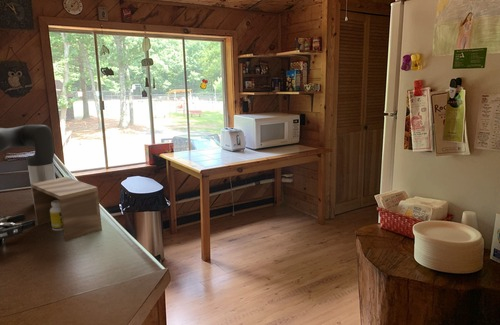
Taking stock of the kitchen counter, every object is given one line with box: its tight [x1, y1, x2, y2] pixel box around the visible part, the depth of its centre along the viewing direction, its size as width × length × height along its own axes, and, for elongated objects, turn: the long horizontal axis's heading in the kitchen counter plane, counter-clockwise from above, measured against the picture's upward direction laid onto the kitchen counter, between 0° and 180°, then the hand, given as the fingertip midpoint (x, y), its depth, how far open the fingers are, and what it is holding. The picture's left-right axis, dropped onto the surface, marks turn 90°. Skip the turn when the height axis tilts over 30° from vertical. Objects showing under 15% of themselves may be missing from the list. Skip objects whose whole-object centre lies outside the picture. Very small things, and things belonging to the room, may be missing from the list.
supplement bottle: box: [50, 200, 64, 232], centre depth 124 cm, size 5×5×10 cm
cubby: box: [30, 176, 103, 243], centre depth 124 cm, size 23×12×15 cm, turn 51°
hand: (29, 219), depth 116 cm, fingers open, 8 cm apart
